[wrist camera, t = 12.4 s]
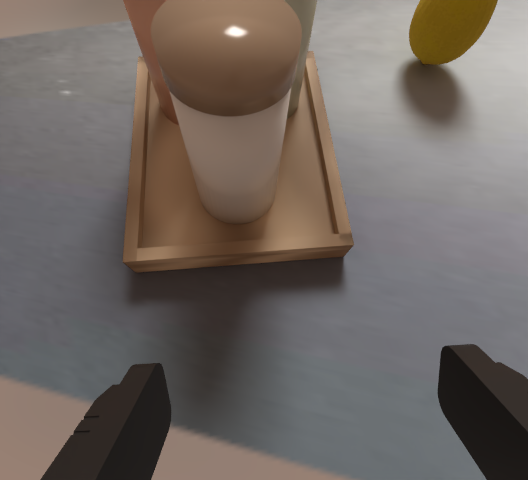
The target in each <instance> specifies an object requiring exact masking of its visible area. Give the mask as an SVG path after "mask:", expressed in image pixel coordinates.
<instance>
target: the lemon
mask: <svg viewBox="0 0 528 480" xmlns="http://www.w3.org/2000/svg"><path fill="white" fill-rule="evenodd" d="M497 1H498V0H420V2H419V4H418V6H417V8H416V10H415V13H414V16H413V18H412V21H411V25H410V30H409V41H410V46H411V49H412V51H413V53H414V54H415V56H416V57H417V58H418V59H419V60H421V62H422V64H425V65H427V64H433V65H439V64H444V63H448V62H450V61H453V60H455V59H456V58H458V57H460V56H461V55H463V54H464V53H465V52H466V51H467V50H468V49H469V48H470V47H471V46H472V45H473V44H474V43H475V42H476V41H477V40H478V39H479V37H480V36H481V35H482V33H483V32H484V30H485V28H486V26H487V25H488V23H489V21H490V19H491V16H492V14H493V12H494V9H495V7H496V4H497Z"/></svg>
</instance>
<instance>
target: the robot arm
mask: <svg viewBox="0 0 528 480" xmlns="http://www.w3.org/2000/svg"><path fill="white" fill-rule="evenodd" d="M438 398H439V403H440V406H441V409H442V411H443V413H444V415H445V417H446V418H447V420H448V421H449V423H450V424H451V426H452V428H453V429H454V431H455V432H456V434H457V435H458V437H459V438H460V440H461V441H462V443H463V444H464V446H465V447H466V449H467V450H468V452H469V453H470V455H471V456H472V458H473V459H474V461H475V462H476V464H477V465H478V467H479V468H480V470H481V472H482V473H483V475H484V476H485V478H486V479H487V480H528V379H527V378H526V377H525V376H523V375H522V374H520V373H518V372H516V371H515V370H513V369H511V368H509V367H508V366H506V365H504V364H502V363H500V362H497V363H495V362H494V361H493V360H492V359H491V358H490V357H489V356H488V355H487V354H485V353H484V352H483V351H482V350H481V349H480V348H479V347H478V346H476V345H474V344H467V345H451V346H444V347H443V348H442V351H441V359H440V370H439V382H438ZM170 422H171V404H170V399H169V394H168V389H167V385H166V380H165V375H164V370H163V367H162V365H161V364H160V363H152V364H136V365H132V366H131V367H130V369H129V370H128V372H127V374H126V375H125V377H124V378H123V380H122V381H121V383H120V384H119V385H112V386H111V387H110V388H109V389H107V390H106V391H105V392H104V393H103V394H102V395H100V396H99V397H98V398H97V399H96V400H95V401H94V403H93V404H92V406H91V407H90V409H89V410H88V412H87V413H86V414H85V416H84V420H81V422H80V423H79V425H78V426H77V427H76V429H75V430H74V434H73V435H71V436H70V438H69V439H68V441H67V442H66V443H65V445H64V447H63V448H62V449H61V451H60V452H59V454H58V455H57V457H56V458H55V460H54V461H53V462H52V464H51V465H50V467H49V468H48V469H47V471H46V472H45V474H44V475H43V477H42V478H41V480H151V478H152V475H153V473H154V470H155V467H156V464H157V461H158V459H159V456H160V453H161V450H162V447H163V445H164V442H165V439H166V436H167V433H168V431H169V427H170Z"/></svg>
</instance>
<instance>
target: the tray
mask: <svg viewBox="0 0 528 480" xmlns="http://www.w3.org/2000/svg"><path fill="white" fill-rule="evenodd" d="M353 245H354V243H353V238H352V233H351V229H350V224H349V219H348V214H347V210H346V205H345V200H344V195H343V191H342V186H341V181H340V176H339V172H338V167H337V162H336V157H335V153H334V148H333V143H332V138H331V134H330V129H329V124H328V119H327V115H326V110H325V105H324V100H323V96H322V91H321V86H320V81H319V76H318V72H317V67H316V62H315V57H314V53H313V51H308V54H307V59H306V65H305V70H304V76H303V82H302V87H301V93H300V98H299V104H298V107H297V109H296V111H295V113H294V114H293V115H292V116H291V117H289V118H288V119H287V120H286V127H285V133H284V140H283V147H282V153H281V160H280V167H279V173H278V180H277V187H276V194H275V199H274V202H273V204H272V206H271V208H270V209H269V210H268V211H267V213H265V214H264V215H263V216H262V217H260V218H259V219H257V220H255V221H252V222H250V223H246V224H229V223H225V222H222V221H219V220H218V219H216V218H214V217H213V216H211V215H210V214H209V213H208V212H207V211H206V210H205V208H204V207H203V205H202V202H201V200H200V196H199V193H198V189H197V186H196V182H195V179H194V175H193V172H192V168H191V165H190V161H189V158H188V154H187V151H186V147H185V144H184V140H183V137H182V133H181V130H180V126H179V125H177V124H174V123H173V122H171V121H170V120H169V119H168V118H167V117H166V116H165V115H164V113H163V111H162V109H161V106H160V103H159V100H158V97H157V95H156V92H155V89H154V86H153V83H152V80H151V78H150V75H149V72H148V69H147V66H146V63H145V61H144V58H143V57H138V68H137V81H136V94H135V107H134V121H133V134H132V147H131V160H130V173H129V186H128V199H127V212H126V225H125V238H124V251H123V263H125V264H126V265H127V266H128V267H130V268H131V269H132V270H133V271H135V272H136V273H137V272H150V271H163V270H176V269H189V268H202V267H215V266H228V265H241V264H254V263H267V262H280V261H293V260H306V259H319V258H332V257H344V256H345V255H346V253H347V252H348V251H349V250H350V249H351V248H352V246H353Z"/></svg>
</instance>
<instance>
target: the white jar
mask: <svg viewBox="0 0 528 480" xmlns="http://www.w3.org/2000/svg"><path fill="white" fill-rule="evenodd" d="M151 38H152V42H153V46H154V49H155V52H156V56H157V59H158V62H159V66H160V69H161V73H162V76H163V79H164V82H165V84H166V86H167V88H168V89H169V91H170V95H171V98H172V102H173V105H174V109H175V112H176V116H177V119H178V123H179V126H180V130H181V133H182V137H183V140H184V144H185V147H186V151H187V154H188V158H189V161H190V165H191V168H192V172H193V175H194V179H195V182H196V186H197V189H198V193H199V196H200V200H201V202H202V205H203V207H204V208H205V210H206V211H207V212H208V213H209V214H210V215H211V216H213V217H214V218H216V219H218V220H219V221H222V222H225V223H229V224H246V223H250V222H252V221H255V220H257V219H259V218H260V217H262V216H263V215H264V214H265V213H267V211H268V210H269V209H270V208H271V206H272V204H273V202H274V199H275V194H276V187H277V180H278V173H279V167H280V160H281V153H282V147H283V140H284V133H285V127H286V120H287V113H288V106H289V100H290V93H291V87H292V85H293V83H294V80H295V76H296V70H297V64H298V57H299V51H300V45H301V38H302V29H301V24H300V21H299V19H298V17H297V15H296V13H295V12H294V10H293V9H292V8H291V7H290V6H289V5H288V4H287V3H286V2H285V1H284V0H167V1H166V2H165V3H163V4H162V6H161V7H160V8H159V9H158V10H157V12H156V14H155V15H154V18H153V21H152V24H151Z"/></svg>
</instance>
